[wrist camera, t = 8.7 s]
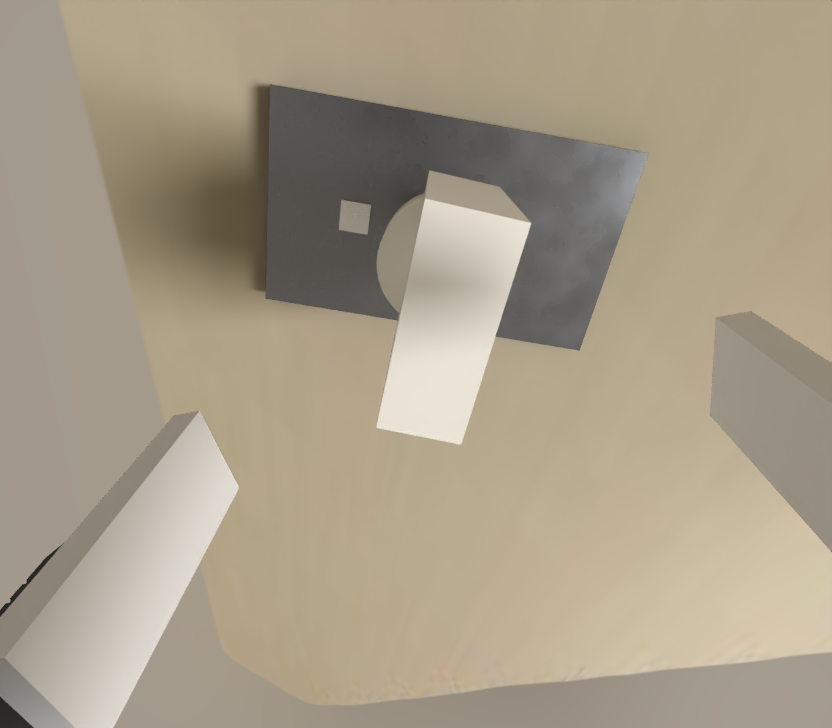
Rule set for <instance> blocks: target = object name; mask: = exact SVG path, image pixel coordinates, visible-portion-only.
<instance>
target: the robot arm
mask: <svg viewBox="0 0 832 728" xmlns="http://www.w3.org/2000/svg"><path fill="white" fill-rule="evenodd" d="M710 416H711V417H712V418H713V419H714V420H715V421H716V422H717V423H718V425H719V426H720V427H721V428H722V429H723V430H724V431H725V432H726V434H727V435H728V436H729V437H730V438H731V439H732V440H733V441H734V443H735V444H736V445H737V446H738V447H739V448H740V449H741V450H742V452H743V453H744V454H745V455H746V456H747V457H748V458H749V459H750V461H751V462H752V463H753V464H754V465H755V466H756V467H757V468H758V470H759V471H760V472H761V473H762V474H763V475H764V476H765V477H766V479H767V480H768V481H769V482H770V483H771V484H772V485H773V486H774V488H775V489H776V490H777V491H778V492H779V493H780V494H781V495H782V497H783V498H784V499H785V500H786V501H787V502H788V503H789V504H790V506H791V507H792V508H793V509H794V510H795V511H796V512H797V513H798V515H799V516H800V517H801V518H802V519H803V520H804V521H805V522H806V524H807V525H808V526H809V527H810V528H811V529H812V530H813V531H814V533H815V534H816V535H817V536H818V537H819V538H820V539H821V540H822V542H823V543H824V544H825V545H826V546H827V547H828V548H829V549H830V551H831V552H832V363H831V362H829V361H828V360H826V359H824V358H823V357H821V356H820V355H818V354H817V353H815V352H814V351H812V350H810V349H809V348H807V347H806V346H804V345H803V344H801V343H800V342H798V341H797V340H795V339H793V338H792V337H790V336H789V335H787V334H786V333H784V332H783V331H781V330H779V329H778V328H776V327H775V326H773V325H772V324H770V323H769V322H767V321H766V320H764V319H762V318H761V317H759V316H758V315H756V314H755V313H753V312H752V311H750V312H744V313H739V314H733V315H728V316H722V317H717V318H716V324H715V340H714V357H713V374H712V390H711V407H710ZM238 489H239V487H238V485H237V483H236V481H235V479H234V477H233V475H232V473H231V471H230V469H229V468H228V466H227V464H226V462H225V460H224V458H223V456H222V454H221V452H220V450H219V448H218V446H217V444H216V442H215V440H214V438H213V436H212V434H211V432H210V430H209V428H208V426H207V425H206V423H205V421H204V419H203V417H202V415H201V413H200V411H196V412H191V413H185V414H180V415H174V416H173V417H172V418H171V419H170V421H169V422H168V423H167V424H166V425H165V426H164V428H163V429H162V430H161V431H160V432H159V433H158V435H157V436H156V437H155V438H154V439H153V440H152V441H151V443H150V444H149V445H148V446H147V447H146V448H145V450H144V451H143V452H142V453H141V454H140V455H139V457H138V458H137V459H136V460H135V461H134V462H133V464H132V465H131V466H130V467H129V468H128V469H127V471H126V472H125V473H124V474H123V475H122V476H121V478H120V479H119V480H118V481H117V482H116V483H115V484H114V486H113V487H112V488H111V489H110V490H109V491H108V493H107V494H106V495H105V496H104V497H103V498H102V500H101V501H100V502H99V503H98V504H97V505H96V507H95V508H94V509H93V510H92V511H91V512H90V514H89V515H88V516H87V517H86V518H85V519H84V521H83V522H82V523H81V524H80V525H79V526H78V527H77V529H76V530H75V531H74V532H73V533H72V535H71V536H70V537H69V538H68V539H67V540H66V541H65V542H64V543H63V544H62V545H61V546H60V547H58V548H57V549H56V550H55V551H54V552H52V553H51V554H50V555H49V556H47V557H46V558H45V559H44V560H43V562H42V563H41V564H40V565H39V566H38V567H37V568H36V570H35V571H34V572H33V573H32V574H31V575H30V577H29V578H28V579H27V583H26V584H23V585H22V586H21V587H20V588H19V589H18V590H17V591H16V592H15V594H14V595H13V596H12V597H11V598H10V599H11V601H10V603H6V604H5V605H4V606H3V607H2V609H1V610H0V728H113V727H114V725H115V723H116V721H117V719H118V717H119V715H120V714H121V712H122V710H123V708H124V706H125V704H126V702H127V700H128V698H129V696H130V694H131V693H132V691H133V689H134V687H135V685H136V683H137V681H138V679H139V677H140V676H141V674H142V672H143V670H144V668H145V666H146V664H147V662H148V660H149V658H150V656H151V654H152V653H153V651H154V649H155V647H156V645H157V643H158V641H159V639H160V637H161V636H162V634H163V632H164V630H165V628H166V626H167V624H168V622H169V620H170V618H171V616H172V614H173V613H174V611H175V609H176V607H177V605H178V603H179V601H180V599H181V597H182V595H183V593H184V592H185V590H186V588H187V586H188V584H189V582H190V580H191V578H192V576H193V575H194V573H195V571H196V569H197V567H198V565H199V563H200V561H201V559H202V557H203V556H204V554H205V552H206V550H207V548H208V546H209V544H210V542H211V540H212V538H213V536H214V535H215V533H216V531H217V529H218V527H219V525H220V523H221V521H222V519H223V517H224V516H225V514H226V512H227V510H228V508H229V506H230V504H231V502H232V500H233V498H234V496H235V495H236V493H237V491H238Z"/></svg>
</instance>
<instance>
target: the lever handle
mask: <svg viewBox="0 0 832 728" xmlns="http://www.w3.org/2000/svg"><path fill="white" fill-rule="evenodd" d="M530 226H531V222H530V221H529V220H528V219H527V217H526V216H525V215H524V214H523V213H522V212H521V211H520V209H519V208H518V207H517V206H516V205H515V204H514V203H513V201H512V200H511V199H510V198H509V197H508V196H507V195H506V194H505V192H504V191H503V190H502V189H501V188H500V187H499V186H494V185H490V184H486V183H482V182H477V181H473V180H469V179H464V178H460V177H456V176H452V175H447V174H443V173H439V172H435V171H430V170H429V174H428V179H427V184H426V189H425V193H423V194H420V195H418V196H416V197H414V198H412V199H411V200H409V201H408V202H406V203H405V204H404V205H403V206H402V207H401V208H400V209H399V210H398V211H397V212H396V213H395V215H394V216H393V217H392V219H391V221H390V222H389V224H388V226H387V228H386V231H385V233H384V235H383V237H382V240H381V242H380V245H379V249H378V254H377V274H378V280H379V283H380V286H381V289H382V291H383V293H384V295H385V297H386V298H387V300H388V301H389V303H390V304H391V305H392V306H393V308H394V309H395V310H397V311H398V312H399V316H398V321H397V326H396V331H395V335H394V340H393V345H392V350H391V356H390V361H389V366H388V371H387V376H386V381H385V386H384V391H383V396H382V401H381V406H380V412H379V417H378V422H377V427H376V428H380V429H385V430H390V431H395V432H400V433H405V434H410V435H415V436H420V437H425V438H430V439H435V440H440V441H445V442H450V443H455V444H460V445H461V443H462V440H463V437H464V434H465V431H466V428H467V424H468V421H469V418H470V415H471V412H472V409H473V405H474V402H475V399H476V396H477V393H478V390H479V387H480V383H481V380H482V377H483V374H484V371H485V368H486V364H487V361H488V358H489V355H490V352H491V349H492V346H493V342H494V339H495V336H496V333H497V330H498V327H499V324H500V320H501V317H502V314H503V311H504V308H505V305H506V301H507V298H508V295H509V292H510V289H511V286H512V283H513V279H514V276H515V273H516V270H517V267H518V264H519V260H520V257H521V254H522V251H523V248H524V245H525V242H526V238H527V235H528V232H529V229H530Z"/></svg>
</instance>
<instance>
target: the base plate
mask: <svg viewBox="0 0 832 728" xmlns="http://www.w3.org/2000/svg"><path fill="white" fill-rule="evenodd" d="M648 155H649V153H644V152H638V151H633V150H627V149H622V148H616V147H611V146H605V145H600V144H594V143H589V142H583V141H578V140H572V139H567V138H561V137H556V136H551V135H545V134H540V133H534V132H529V131H523V130H518V129H512V128H507V127H501V126H496V125H490V124H485V123H479V122H474V121H468V120H463V119H457V118H452V117H446V116H441V115H435V114H430V113H424V112H419V111H413V110H408V109H403V108H397V107H392V106H386V105H381V104H375V103H370V102H364V101H359V100H353V99H348V98H342V97H337V96H331V95H326V94H320V93H315V92H309V91H304V90H298V89H293V88H287V87H282V86H276V85H271V84H270V105H269V156H268V207H267V258H266V299H272V300H278V301H284V302H290V303H296V304H302V305H308V306H314V307H321V308H327V309H333V310H339V311H345V312H351V313H357V314H363V315H369V316H375V317H381V318H387V319H393V320H398V316H399V312H398V311H397V310H395V309H394V308H393V306H392V305H391V304H390V303H389V301H388V300H387V298H386V297H385V295H384V293H383V291H382V289H381V286H380V283H379V280H378V274H377V254H378V249H379V245H380V242H381V240H382V237H383V235H384V233H385V231H386V228H387V226H388V224H389V222H390V221H391V219H392V217H393V216H394V215H395V213H396V212H397V211H398V210H399V209H400V208H401V207H402V206H403V205H404V204H405V203H406V202H408V201H409V200H411V199H412V198H414V197H416V196H418V195H420V194H423V193H425V189H426V184H427V179H428V174H429V170H430V171H435V172H439V173H443V174H447V175H452V176H456V177H460V178H464V179H469V180H473V181H477V182H482V183H486V184H490V185H494V186H499V187H500V188H501V189H502V190H503V191H504V192H505V194H506V195H507V196H508V197H509V198H510V199H511V200H512V201H513V203H514V204H515V205H516V206H517V207H518V208H519V209H520V211H521V212H522V213H523V214H524V215H525V216H526V217H527V219H528V220H529V221H530V222H531V226H530V229H529V232H528V235H527V238H526V242H525V245H524V248H523V251H522V254H521V257H520V260H519V264H518V267H517V270H516V273H515V276H514V279H513V283H512V286H511V289H510V292H509V295H508V298H507V301H506V305H505V308H504V311H503V314H502V317H501V320H500V324H499V327H498V330H497V333H496V337H502V338H508V339H514V340H520V341H526V342H532V343H538V344H544V345H550V346H556V347H562V348H568V349H574V350H580V347H581V345H582V342H583V339H584V336H585V333H586V330H587V328H588V325H589V322H590V319H591V316H592V313H593V311H594V308H595V305H596V302H597V299H598V296H599V294H600V291H601V288H602V285H603V282H604V279H605V277H606V274H607V271H608V268H609V265H610V262H611V260H612V257H613V254H614V251H615V248H616V245H617V243H618V240H619V237H620V234H621V231H622V228H623V226H624V223H625V220H626V217H627V214H628V211H629V209H630V206H631V203H632V200H633V197H634V194H635V192H636V189H637V186H638V183H639V180H640V177H641V175H642V172H643V169H644V166H645V163H646V160H647V158H648Z"/></svg>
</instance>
